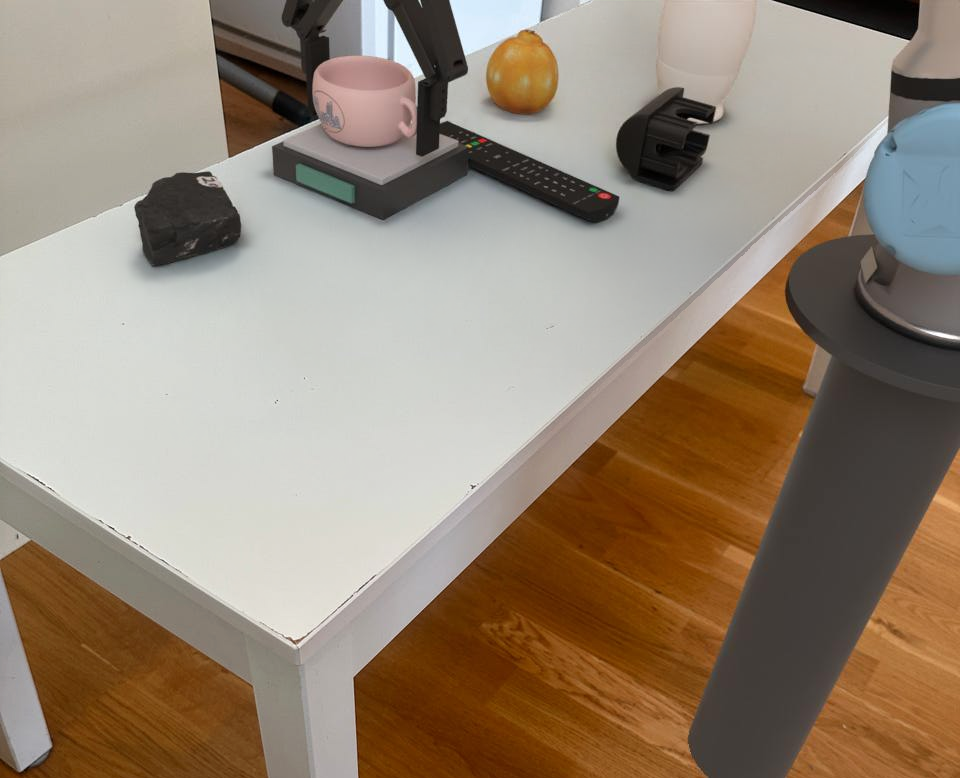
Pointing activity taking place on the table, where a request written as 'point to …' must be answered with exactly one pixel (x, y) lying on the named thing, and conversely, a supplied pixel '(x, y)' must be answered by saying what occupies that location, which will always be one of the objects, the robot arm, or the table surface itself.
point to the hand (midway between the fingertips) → (372, 131)
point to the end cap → (664, 140)
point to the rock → (186, 218)
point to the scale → (369, 169)
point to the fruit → (522, 74)
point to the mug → (365, 100)
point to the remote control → (534, 176)
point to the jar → (703, 47)
